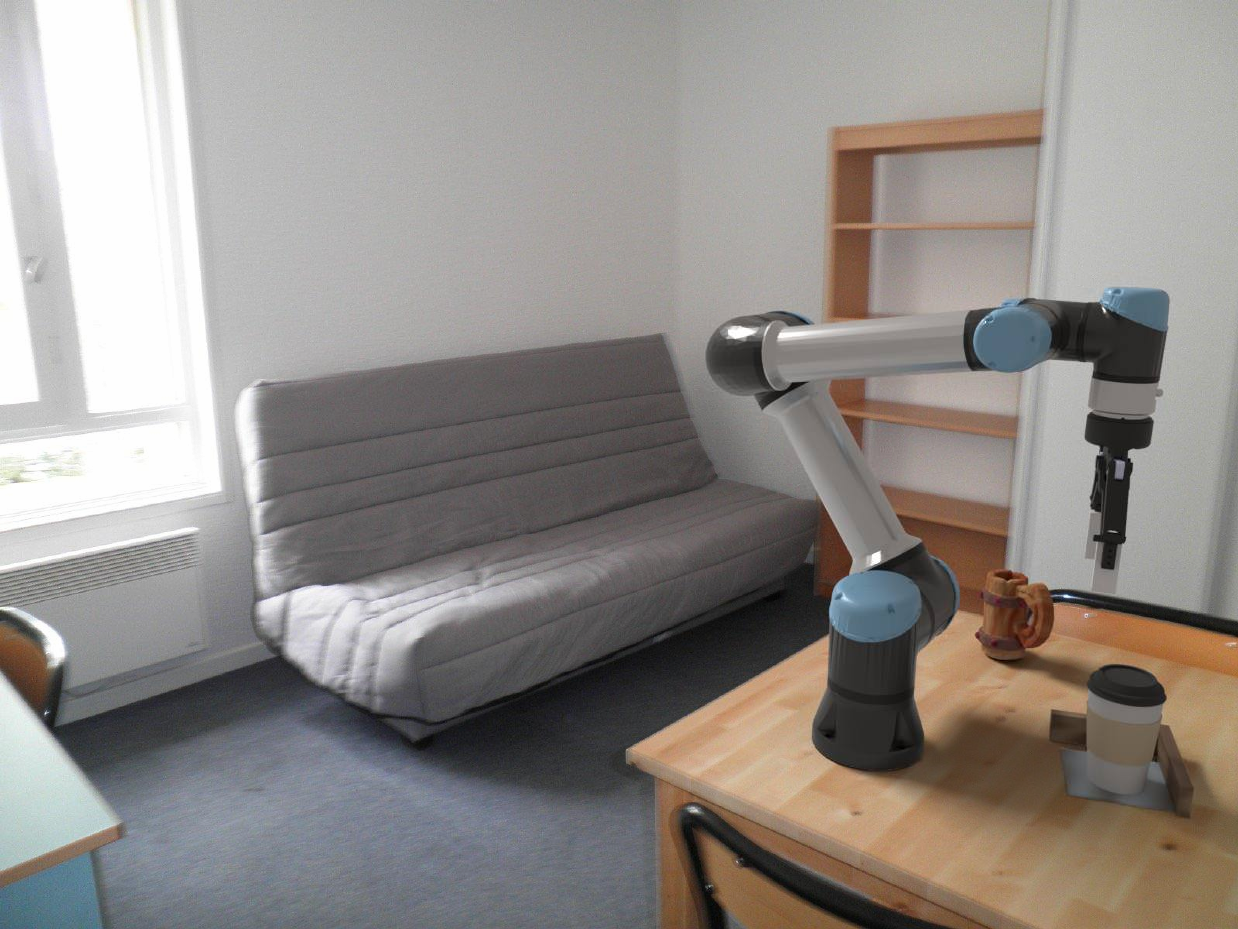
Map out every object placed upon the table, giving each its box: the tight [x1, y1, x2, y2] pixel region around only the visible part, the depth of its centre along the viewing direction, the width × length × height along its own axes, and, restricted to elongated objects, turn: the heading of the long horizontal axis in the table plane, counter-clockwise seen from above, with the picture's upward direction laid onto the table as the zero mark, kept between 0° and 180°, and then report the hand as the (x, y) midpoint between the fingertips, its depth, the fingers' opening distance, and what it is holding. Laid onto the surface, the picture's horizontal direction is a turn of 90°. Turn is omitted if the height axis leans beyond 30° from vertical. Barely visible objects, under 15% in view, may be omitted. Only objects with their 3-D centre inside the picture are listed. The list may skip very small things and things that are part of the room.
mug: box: [974, 568, 1055, 661], centre depth 164 cm, size 15×8×15 cm, turn 17°
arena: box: [1048, 708, 1195, 819], centre depth 130 cm, size 15×17×4 cm
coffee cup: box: [1086, 663, 1168, 795], centre depth 127 cm, size 9×9×15 cm
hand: (1098, 574), depth 129 cm, fingers open, 13 cm apart
